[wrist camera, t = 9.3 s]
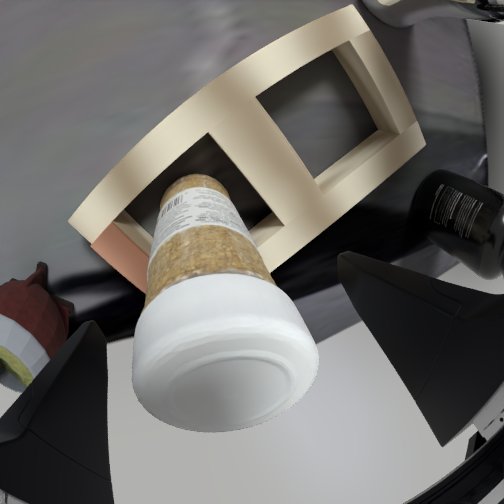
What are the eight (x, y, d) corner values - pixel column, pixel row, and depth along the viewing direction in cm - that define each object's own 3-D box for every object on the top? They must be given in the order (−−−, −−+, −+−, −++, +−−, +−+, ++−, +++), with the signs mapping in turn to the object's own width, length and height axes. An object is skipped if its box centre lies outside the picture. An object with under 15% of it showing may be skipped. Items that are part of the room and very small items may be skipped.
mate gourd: (84, 273, 17) (20, 476, 5) (74, 344, 20) (46, 503, 7) (4, 240, 14) (-102, 392, 2) (6, 315, 17) (-49, 454, 4)
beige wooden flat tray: (193, 307, 21) (195, 332, 18) (81, 206, 15) (66, 223, 13) (404, 138, 18) (429, 145, 16) (333, 13, 13) (355, 3, 10)
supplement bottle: (419, 248, 24) (506, 320, 14) (401, 195, 21) (517, 265, 10) (459, 208, 23) (545, 262, 13) (446, 153, 20) (554, 200, 9)
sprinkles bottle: (189, 252, 19) (215, 449, 7) (145, 201, 16) (90, 391, 5) (245, 212, 18) (347, 383, 7) (204, 156, 16) (264, 282, 4)
